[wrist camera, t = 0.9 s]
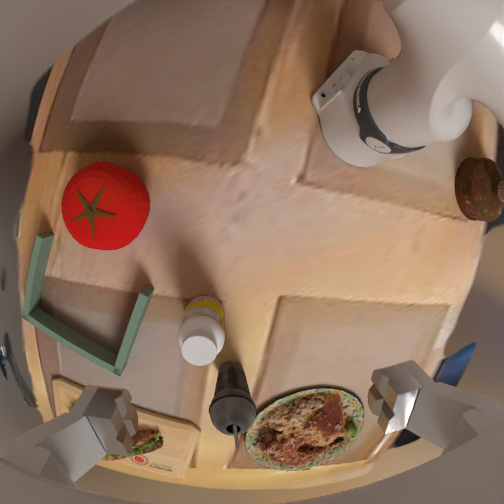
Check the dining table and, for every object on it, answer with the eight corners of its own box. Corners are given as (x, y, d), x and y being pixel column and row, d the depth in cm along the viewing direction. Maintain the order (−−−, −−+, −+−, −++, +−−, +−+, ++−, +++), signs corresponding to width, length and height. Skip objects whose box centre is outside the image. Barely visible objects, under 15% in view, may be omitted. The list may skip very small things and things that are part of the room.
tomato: (73, 230, 43) (40, 240, 33) (91, 157, 41) (60, 151, 31) (145, 255, 45) (124, 272, 35) (167, 178, 43) (149, 174, 33)
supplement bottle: (214, 336, 49) (211, 379, 37) (179, 320, 48) (166, 359, 35) (232, 305, 48) (233, 342, 36) (196, 287, 47) (185, 320, 35)
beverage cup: (206, 380, 51) (200, 460, 31) (218, 350, 50) (215, 430, 30) (243, 390, 52) (250, 469, 32) (256, 361, 51) (271, 440, 31)
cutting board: (62, 433, 53) (52, 450, 46) (54, 372, 49) (40, 390, 42) (184, 474, 58) (182, 495, 51) (202, 423, 54) (200, 447, 47)
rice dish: (289, 365, 53) (294, 381, 48) (384, 402, 56) (393, 415, 51) (223, 447, 57) (222, 463, 51) (315, 471, 60) (319, 485, 55)
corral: (48, 231, 43) (36, 234, 39) (154, 289, 47) (148, 297, 43) (32, 309, 46) (22, 317, 42) (126, 364, 49) (120, 376, 45)
